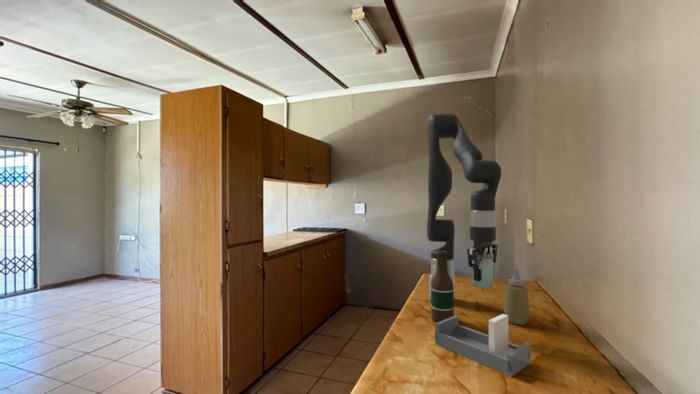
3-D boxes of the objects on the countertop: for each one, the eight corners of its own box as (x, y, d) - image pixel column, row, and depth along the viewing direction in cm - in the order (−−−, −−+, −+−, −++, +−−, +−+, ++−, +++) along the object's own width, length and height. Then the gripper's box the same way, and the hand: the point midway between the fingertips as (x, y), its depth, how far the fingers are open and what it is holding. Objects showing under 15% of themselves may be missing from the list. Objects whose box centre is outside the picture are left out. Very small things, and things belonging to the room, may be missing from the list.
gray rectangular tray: (435, 344, 95) (435, 323, 95) (455, 334, 101) (455, 315, 101) (511, 376, 77) (511, 351, 77) (530, 363, 83) (530, 340, 83)
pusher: (488, 359, 83) (488, 320, 83) (502, 350, 88) (502, 313, 88) (506, 366, 80) (506, 325, 80) (519, 357, 84) (519, 318, 84)
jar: (469, 285, 102) (469, 253, 102) (479, 281, 105) (479, 251, 105) (486, 289, 97) (486, 256, 97) (496, 285, 101) (496, 253, 101)
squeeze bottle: (533, 327, 106) (533, 272, 106) (507, 325, 108) (506, 271, 107) (525, 318, 114) (525, 266, 114) (500, 316, 115) (500, 266, 115)
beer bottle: (455, 317, 115) (455, 249, 115) (452, 325, 108) (452, 253, 108) (432, 314, 118) (432, 248, 118) (428, 322, 111) (428, 251, 111)
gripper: (481, 227, 93) (481, 286, 94) (506, 224, 102) (506, 277, 103) (458, 225, 99) (458, 280, 100) (483, 222, 108) (483, 273, 109)
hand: (482, 278), depth 101 cm, fingers closed on jar, 5 cm apart
